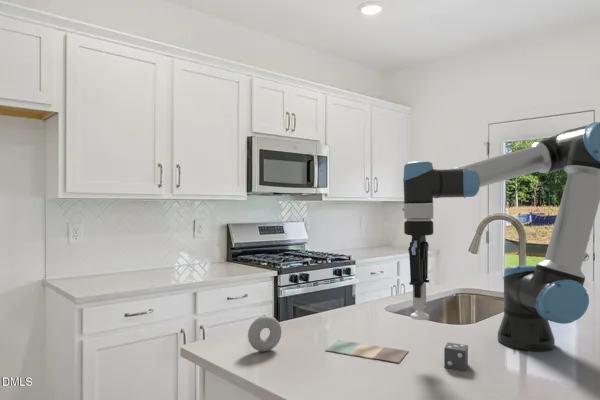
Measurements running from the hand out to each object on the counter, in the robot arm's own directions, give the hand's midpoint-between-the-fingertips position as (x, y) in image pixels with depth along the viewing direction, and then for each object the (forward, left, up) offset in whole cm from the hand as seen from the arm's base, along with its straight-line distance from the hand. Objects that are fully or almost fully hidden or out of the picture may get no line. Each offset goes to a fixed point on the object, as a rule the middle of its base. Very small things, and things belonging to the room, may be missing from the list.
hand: (419, 308), depth 118 cm
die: (-9, 0, -14) cm, 17 cm away
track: (+15, 0, -14) cm, 20 cm away
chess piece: (0, 0, -3) cm, 3 cm away
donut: (+40, +13, -14) cm, 45 cm away
